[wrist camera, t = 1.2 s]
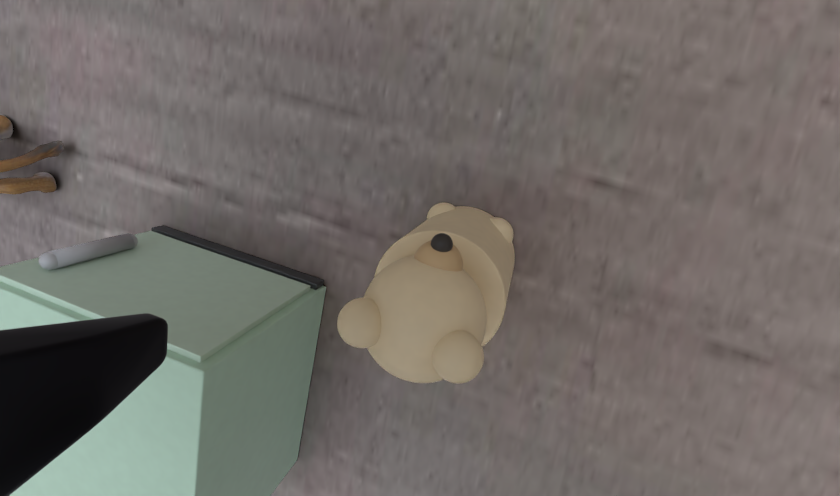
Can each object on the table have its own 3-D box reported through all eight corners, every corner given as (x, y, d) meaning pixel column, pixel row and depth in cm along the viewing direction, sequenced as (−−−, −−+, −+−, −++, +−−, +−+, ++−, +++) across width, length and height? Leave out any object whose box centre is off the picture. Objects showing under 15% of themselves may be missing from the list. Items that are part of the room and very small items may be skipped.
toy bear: (530, 214, 17) (522, 283, 9) (498, 316, 18) (465, 457, 10) (428, 186, 18) (336, 226, 10) (405, 286, 19) (307, 393, 11)
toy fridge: (330, 268, 20) (205, 345, 13) (297, 460, 24) (186, 607, 16) (159, 212, 22) (-35, 250, 15) (154, 397, 26) (-4, 503, 18)
